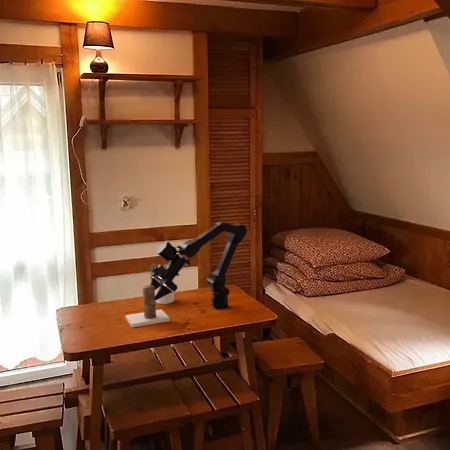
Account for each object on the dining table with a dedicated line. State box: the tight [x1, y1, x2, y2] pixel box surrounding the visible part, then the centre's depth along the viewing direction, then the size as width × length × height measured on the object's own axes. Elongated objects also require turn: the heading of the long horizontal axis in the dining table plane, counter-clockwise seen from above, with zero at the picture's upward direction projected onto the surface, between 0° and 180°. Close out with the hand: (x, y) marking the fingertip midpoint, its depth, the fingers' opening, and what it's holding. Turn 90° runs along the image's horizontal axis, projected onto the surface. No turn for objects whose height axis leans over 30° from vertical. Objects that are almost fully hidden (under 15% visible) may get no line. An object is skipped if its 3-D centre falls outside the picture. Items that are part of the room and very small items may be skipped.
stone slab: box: [125, 309, 171, 328], centre depth 227 cm, size 16×12×2 cm
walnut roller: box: [142, 284, 157, 319], centre depth 225 cm, size 5×5×13 cm
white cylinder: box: [155, 278, 175, 305], centre depth 250 cm, size 10×10×12 cm
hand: (151, 296), depth 225 cm, fingers open, 9 cm apart
